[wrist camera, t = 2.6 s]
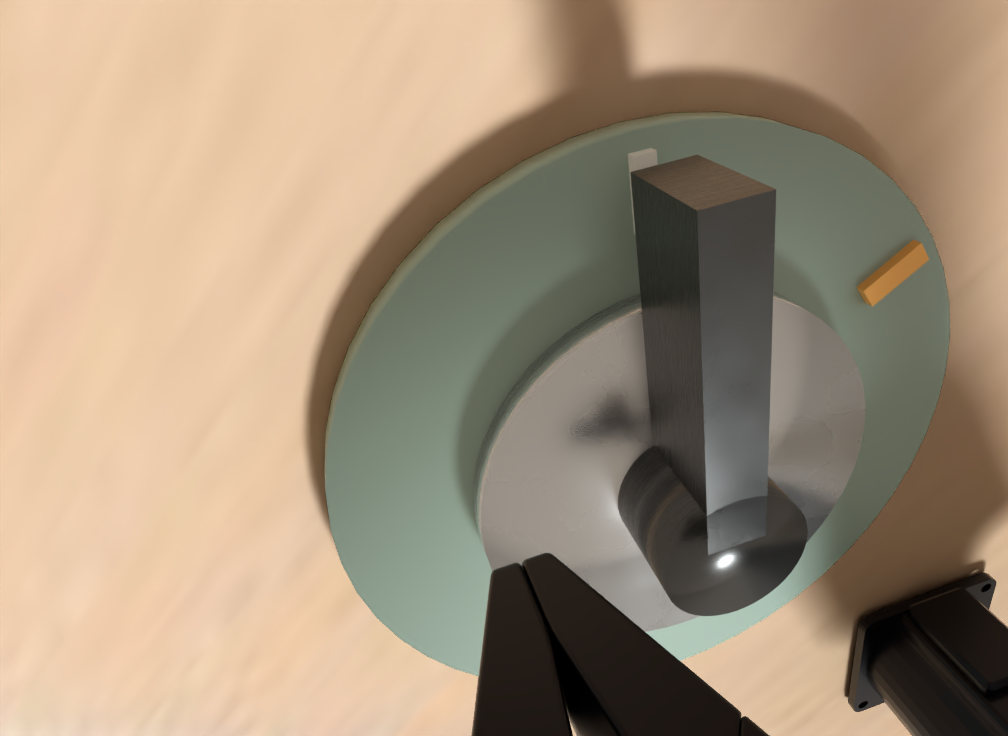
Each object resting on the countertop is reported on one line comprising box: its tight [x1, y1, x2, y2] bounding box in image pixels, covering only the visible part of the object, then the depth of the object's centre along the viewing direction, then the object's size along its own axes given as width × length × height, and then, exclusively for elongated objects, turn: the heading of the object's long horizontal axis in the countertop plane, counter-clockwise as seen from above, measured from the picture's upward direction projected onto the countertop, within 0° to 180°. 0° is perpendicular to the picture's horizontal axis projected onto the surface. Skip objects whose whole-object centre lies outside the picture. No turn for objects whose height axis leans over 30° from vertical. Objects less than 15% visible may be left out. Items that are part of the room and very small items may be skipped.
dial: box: [473, 155, 866, 632], centre depth 19 cm, size 16×12×4 cm
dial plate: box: [324, 112, 950, 676], centre depth 22 cm, size 20×20×1 cm
